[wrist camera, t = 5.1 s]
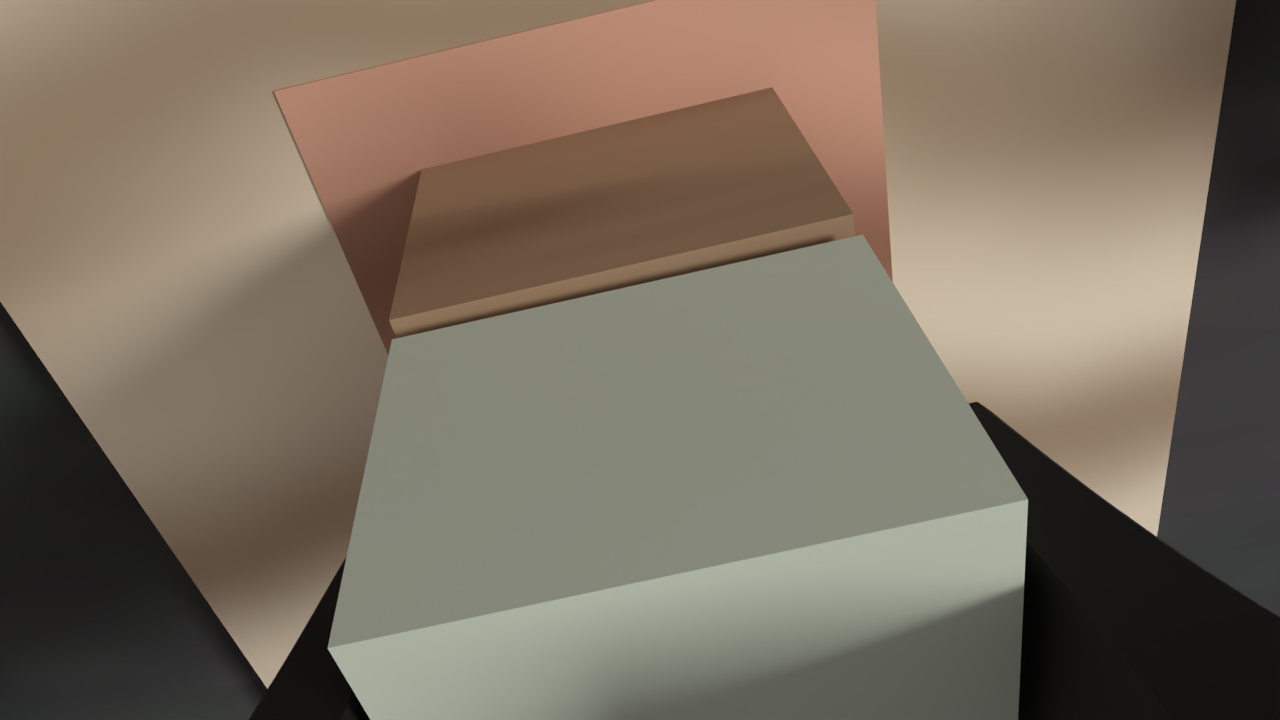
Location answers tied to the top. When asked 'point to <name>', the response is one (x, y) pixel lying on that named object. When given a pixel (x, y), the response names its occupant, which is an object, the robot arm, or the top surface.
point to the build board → (541, 110)
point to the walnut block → (612, 211)
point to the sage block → (686, 512)
